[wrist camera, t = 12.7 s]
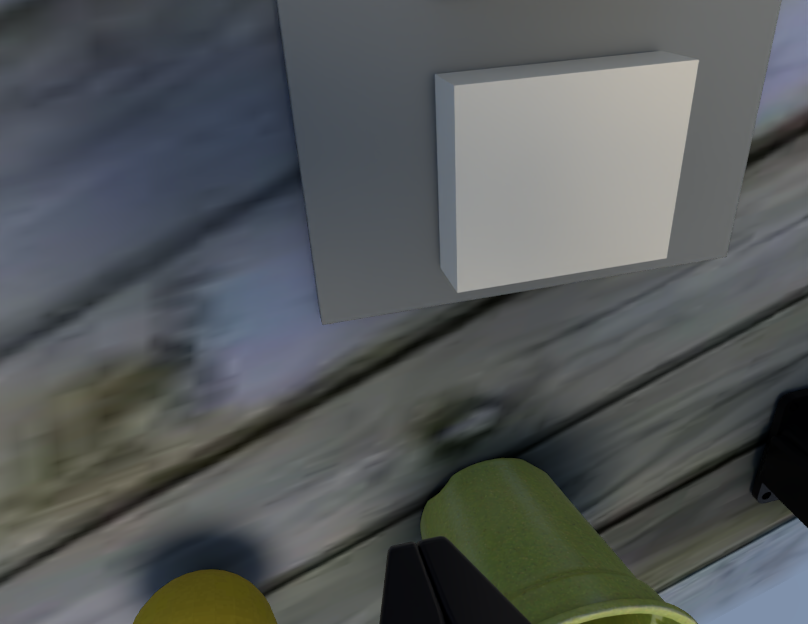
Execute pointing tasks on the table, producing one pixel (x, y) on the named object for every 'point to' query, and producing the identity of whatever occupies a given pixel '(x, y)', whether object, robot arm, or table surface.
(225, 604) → the lemon
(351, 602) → the table surface
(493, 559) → the plant pot
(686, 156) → the slate mat
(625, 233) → the tile
